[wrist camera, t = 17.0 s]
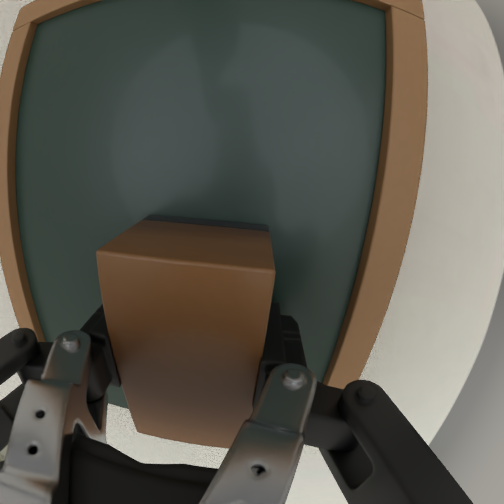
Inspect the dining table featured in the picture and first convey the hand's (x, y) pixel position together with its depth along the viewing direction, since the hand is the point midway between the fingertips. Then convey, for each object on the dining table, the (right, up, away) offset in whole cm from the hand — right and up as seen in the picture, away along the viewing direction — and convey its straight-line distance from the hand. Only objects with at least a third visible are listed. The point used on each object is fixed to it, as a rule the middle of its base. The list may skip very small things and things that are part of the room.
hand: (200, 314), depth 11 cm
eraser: (0, 0, +1) cm, 1 cm away
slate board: (-2, +3, +1) cm, 4 cm away
